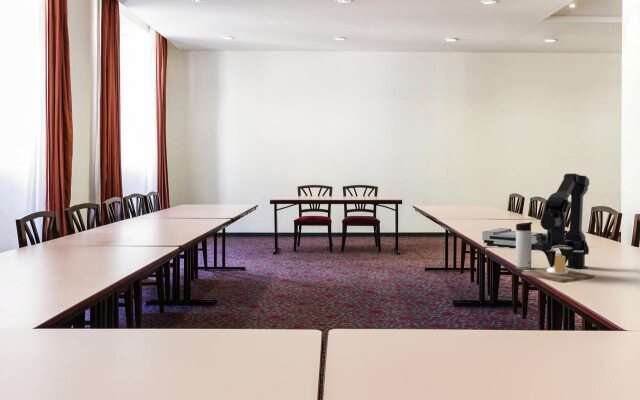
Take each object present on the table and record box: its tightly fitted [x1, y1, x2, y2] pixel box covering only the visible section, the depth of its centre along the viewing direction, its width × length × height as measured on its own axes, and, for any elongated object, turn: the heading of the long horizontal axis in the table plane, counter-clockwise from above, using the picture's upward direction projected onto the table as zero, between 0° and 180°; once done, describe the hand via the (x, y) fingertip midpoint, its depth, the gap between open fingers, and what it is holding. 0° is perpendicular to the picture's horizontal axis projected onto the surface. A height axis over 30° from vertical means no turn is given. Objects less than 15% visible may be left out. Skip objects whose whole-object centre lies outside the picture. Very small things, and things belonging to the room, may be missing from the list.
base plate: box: [521, 268, 596, 284], centre depth 226 cm, size 18×20×1 cm
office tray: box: [481, 227, 547, 250], centre depth 310 cm, size 21×32×8 cm, turn 45°
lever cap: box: [546, 252, 569, 275], centre depth 226 cm, size 8×8×7 cm
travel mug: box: [515, 221, 533, 271], centre depth 243 cm, size 6×7×20 cm
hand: (557, 266), depth 226 cm, fingers open, 5 cm apart
